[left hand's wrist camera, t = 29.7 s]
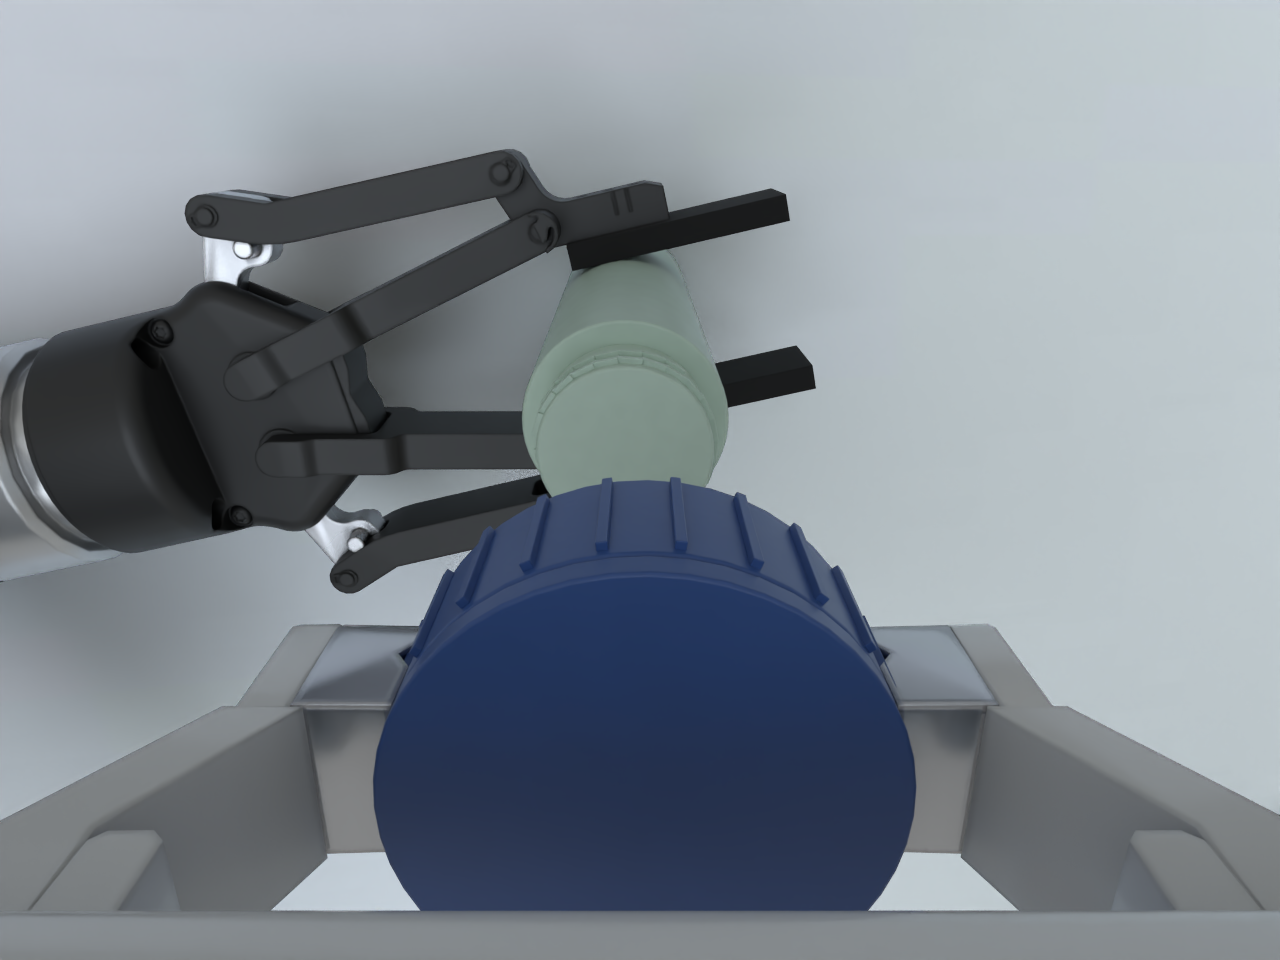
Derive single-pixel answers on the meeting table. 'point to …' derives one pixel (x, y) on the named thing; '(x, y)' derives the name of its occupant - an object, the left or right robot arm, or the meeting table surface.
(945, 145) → the meeting table surface
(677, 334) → the jar
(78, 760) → the meeting table surface
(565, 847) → the lid
